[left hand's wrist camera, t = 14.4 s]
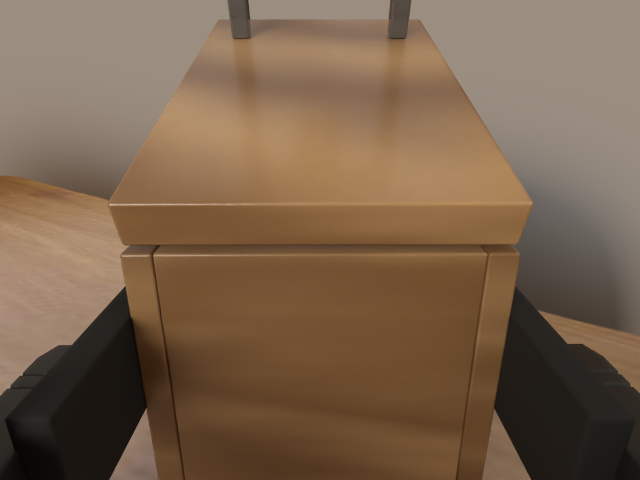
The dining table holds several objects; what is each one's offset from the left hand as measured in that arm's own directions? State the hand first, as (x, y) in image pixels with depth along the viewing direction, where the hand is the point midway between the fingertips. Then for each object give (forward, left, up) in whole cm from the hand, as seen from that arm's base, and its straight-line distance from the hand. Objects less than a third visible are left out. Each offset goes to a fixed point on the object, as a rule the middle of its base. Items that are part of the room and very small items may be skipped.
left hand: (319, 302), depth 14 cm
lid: (+2, -3, +5) cm, 6 cm away
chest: (+2, -2, -6) cm, 7 cm away
